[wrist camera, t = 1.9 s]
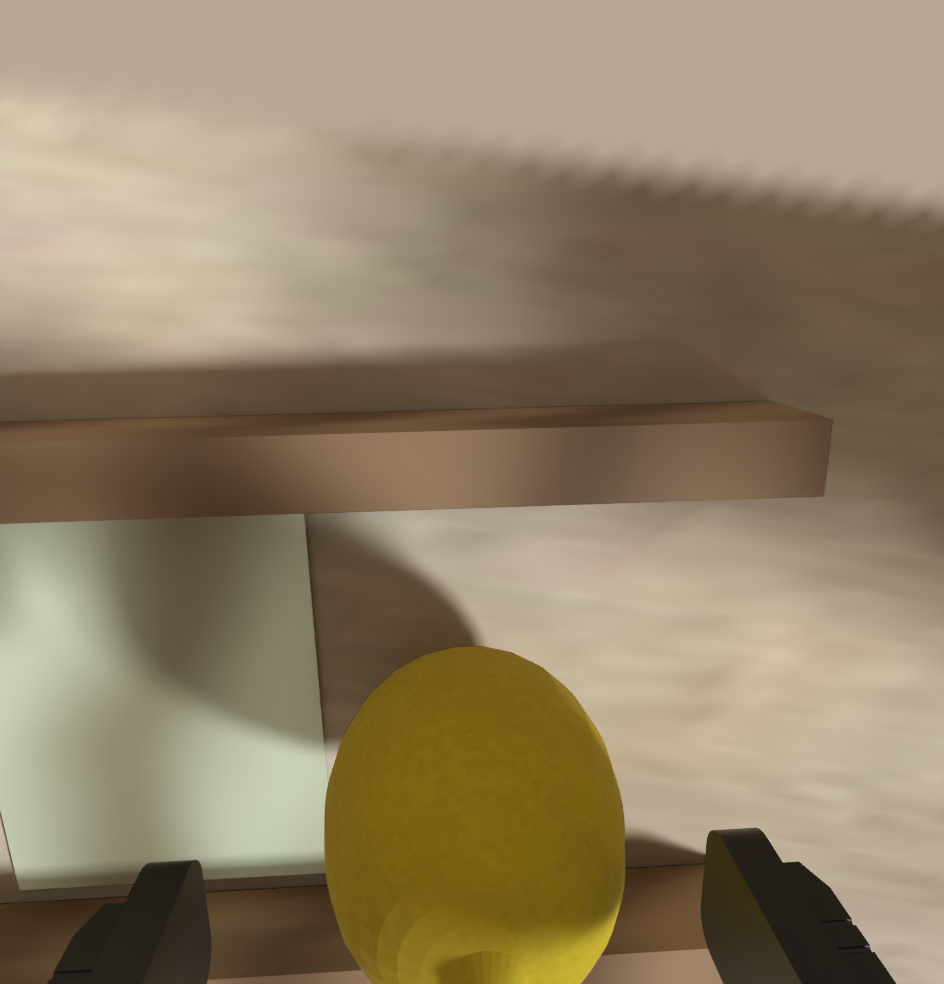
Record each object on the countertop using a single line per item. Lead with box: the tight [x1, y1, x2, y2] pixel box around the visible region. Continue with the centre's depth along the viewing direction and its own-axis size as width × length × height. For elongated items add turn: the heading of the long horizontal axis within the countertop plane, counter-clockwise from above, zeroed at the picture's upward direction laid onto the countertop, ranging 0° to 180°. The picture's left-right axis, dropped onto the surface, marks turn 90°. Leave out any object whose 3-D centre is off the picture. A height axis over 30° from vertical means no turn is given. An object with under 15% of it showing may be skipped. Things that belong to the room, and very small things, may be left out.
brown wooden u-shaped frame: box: [0, 401, 833, 984], centre depth 16 cm, size 22×14×3 cm, turn 91°
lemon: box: [324, 646, 625, 984], centre depth 13 cm, size 6×6×8 cm
